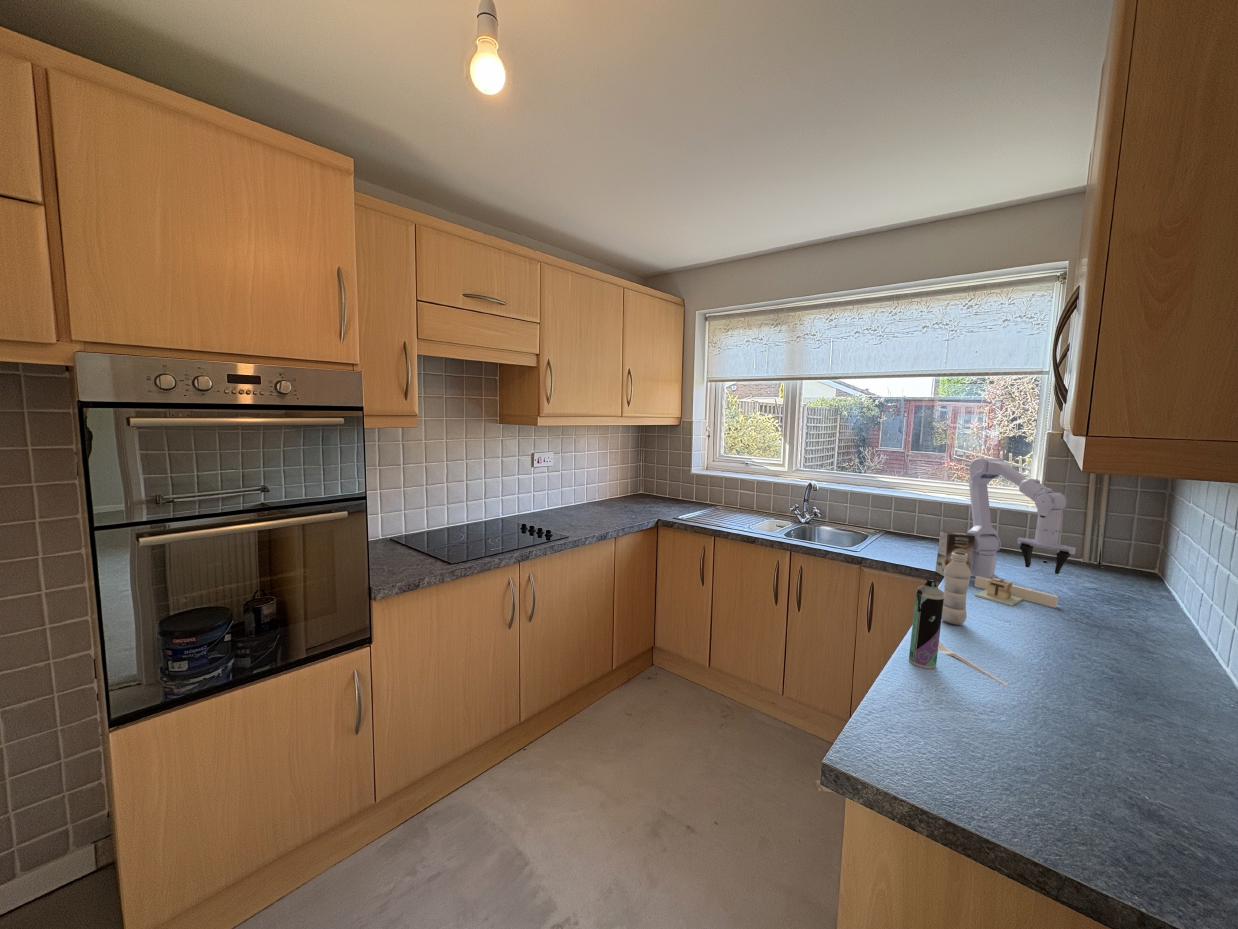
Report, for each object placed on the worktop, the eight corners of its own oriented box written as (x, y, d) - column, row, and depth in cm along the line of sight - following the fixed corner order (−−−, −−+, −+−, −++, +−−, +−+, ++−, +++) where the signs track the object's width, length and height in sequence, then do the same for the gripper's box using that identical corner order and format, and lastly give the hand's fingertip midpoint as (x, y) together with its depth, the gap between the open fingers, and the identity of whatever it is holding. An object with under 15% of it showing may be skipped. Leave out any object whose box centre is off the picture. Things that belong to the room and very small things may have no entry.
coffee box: (943, 576, 186) (948, 533, 184) (934, 571, 192) (939, 529, 191) (970, 578, 185) (975, 535, 183) (960, 573, 191) (965, 531, 190)
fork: (1001, 690, 109) (1002, 682, 109) (926, 645, 128) (927, 638, 128) (1013, 688, 110) (1014, 680, 110) (937, 644, 129) (938, 637, 129)
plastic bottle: (967, 623, 143) (975, 554, 141) (963, 629, 138) (971, 558, 136) (941, 616, 148) (948, 549, 146) (935, 622, 143) (943, 553, 141)
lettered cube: (992, 592, 169) (994, 577, 168) (1010, 597, 165) (1012, 581, 164) (986, 595, 166) (988, 579, 165) (1004, 600, 162) (1006, 584, 161)
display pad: (986, 590, 172) (986, 588, 172) (1022, 600, 164) (1022, 598, 164) (974, 595, 166) (974, 594, 166) (1011, 606, 158) (1011, 604, 158)
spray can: (926, 671, 114) (936, 585, 112) (903, 660, 119) (912, 577, 117) (941, 666, 117) (950, 582, 115) (917, 656, 122) (926, 575, 119)
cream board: (976, 585, 177) (977, 576, 177) (1056, 607, 159) (1058, 596, 159) (974, 586, 176) (975, 576, 176) (1055, 607, 158) (1056, 597, 158)
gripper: (1016, 526, 168) (1011, 565, 170) (1073, 535, 157) (1067, 578, 158) (1023, 524, 172) (1018, 562, 174) (1079, 533, 161) (1073, 575, 162)
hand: (1042, 570), depth 166 cm, fingers open, 7 cm apart
